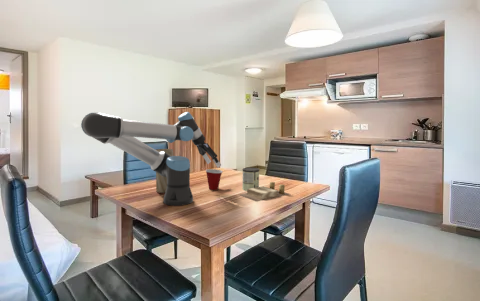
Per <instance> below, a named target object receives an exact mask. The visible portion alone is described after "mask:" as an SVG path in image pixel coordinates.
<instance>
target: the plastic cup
mask: <svg viewBox="0 0 480 301" xmlns="http://www.w3.org/2000/svg"><path fill="white" fill-rule="evenodd" d="M205 173H206V177H207V179H206V180H207V184H208V190H211V191H216V190H218V189H219V186H220V182H221V177H222V174H223V170H222V169H214V168H208V169H205Z"/></svg>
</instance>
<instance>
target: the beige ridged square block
mask: <svg viewBox="0 0 480 301" xmlns="http://www.w3.org/2000/svg"><path fill="white" fill-rule="evenodd" d="M278 191H279V190H278ZM278 191H277V189H275V190H274V189H271V188H270V187H267V186H264V185H263V186H259V187H256V188H251V189H247V191H246V192H247V194H248V195H251V196H254V197H257V198H260V199H264V198H269V197H274V196H277V193H278Z"/></svg>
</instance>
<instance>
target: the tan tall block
mask: <svg viewBox="0 0 480 301" xmlns="http://www.w3.org/2000/svg"><path fill="white" fill-rule="evenodd" d="M155 150H156V151H158V152H161V151H163V152H165V153H167V154H168V155H170V156H174V149H173V148H158V149H155ZM155 183H156V184H155V189H156V190H155V191H156V193H160V194H161V193H162V194H163V193H164V194H165V192H166V189H167V178H166V177H164V176H162V175H160V174H159V173H157V172H155Z"/></svg>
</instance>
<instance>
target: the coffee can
mask: <svg viewBox="0 0 480 301" xmlns="http://www.w3.org/2000/svg"><path fill="white" fill-rule="evenodd" d="M241 170H242V186H241V187H242V190H243V191H245V192H247V189H251V188H256V187H260V168H259V167H258V168H257V167H244V168H242V169H241Z"/></svg>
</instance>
